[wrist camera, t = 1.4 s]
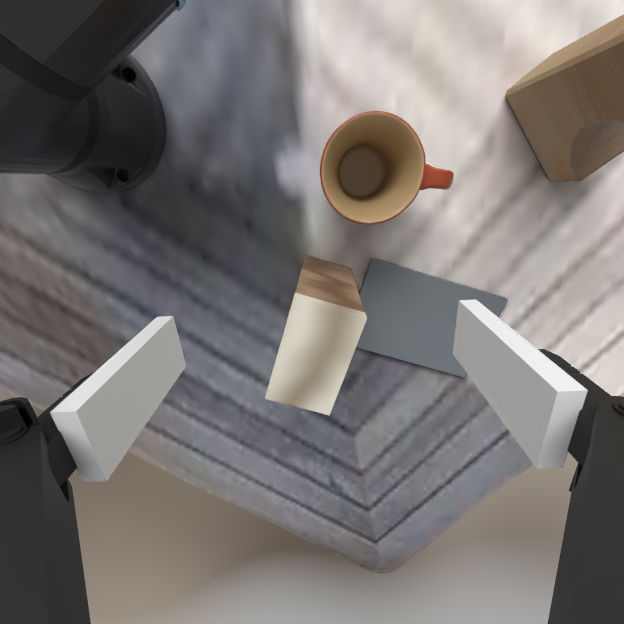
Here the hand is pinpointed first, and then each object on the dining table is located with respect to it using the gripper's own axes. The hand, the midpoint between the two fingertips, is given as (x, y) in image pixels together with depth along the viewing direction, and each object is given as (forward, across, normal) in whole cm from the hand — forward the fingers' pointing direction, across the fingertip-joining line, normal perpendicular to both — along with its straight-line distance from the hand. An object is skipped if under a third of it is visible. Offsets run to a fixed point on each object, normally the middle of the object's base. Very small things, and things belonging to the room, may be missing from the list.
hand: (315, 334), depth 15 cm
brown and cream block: (+26, -1, -8) cm, 28 cm away
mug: (+27, +7, +6) cm, 28 cm away
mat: (+26, +13, -12) cm, 31 cm away
